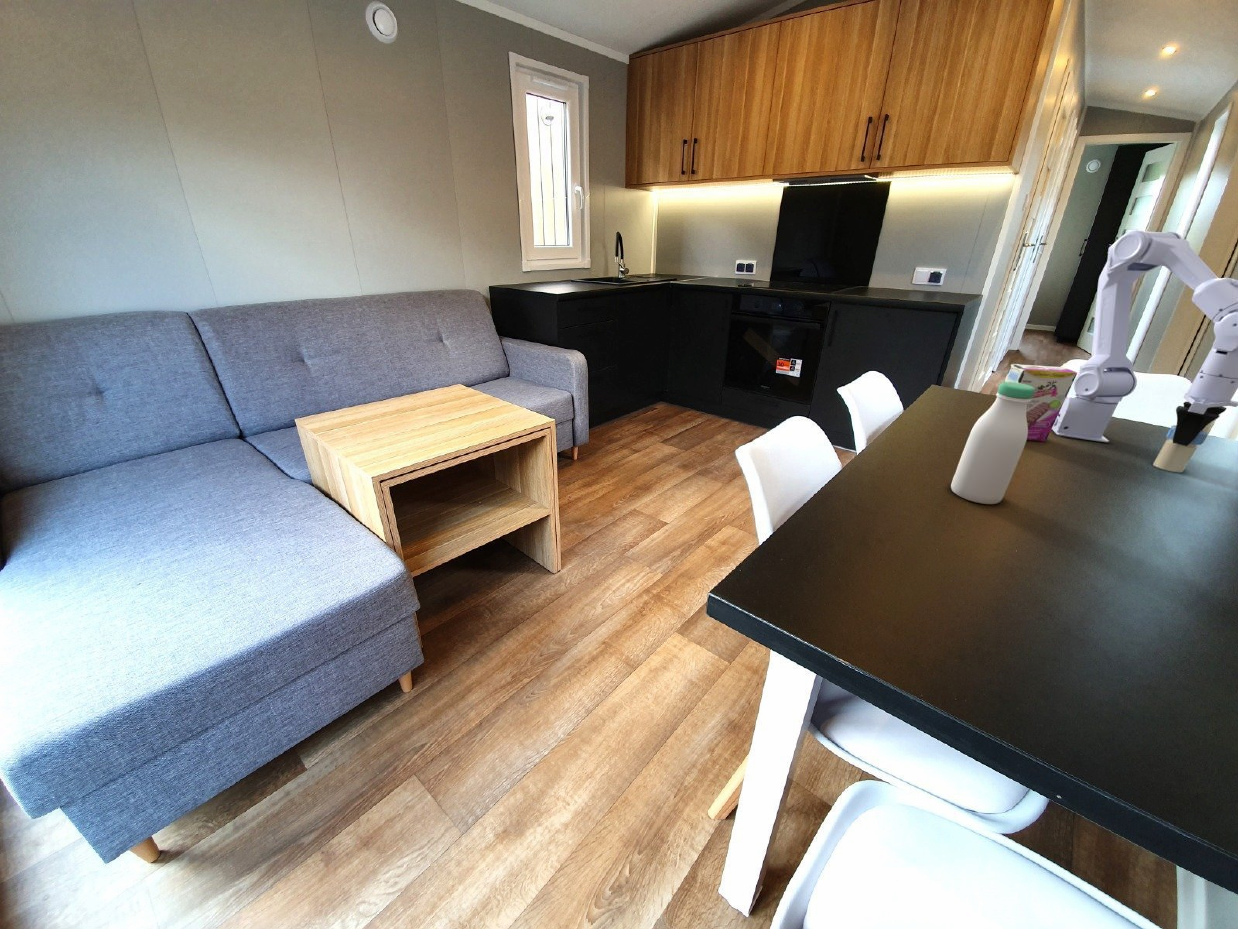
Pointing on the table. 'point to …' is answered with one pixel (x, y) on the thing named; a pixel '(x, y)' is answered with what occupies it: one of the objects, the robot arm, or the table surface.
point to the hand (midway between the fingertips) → (1182, 441)
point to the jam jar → (1174, 456)
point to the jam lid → (1197, 441)
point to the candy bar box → (1042, 395)
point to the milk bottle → (994, 446)
